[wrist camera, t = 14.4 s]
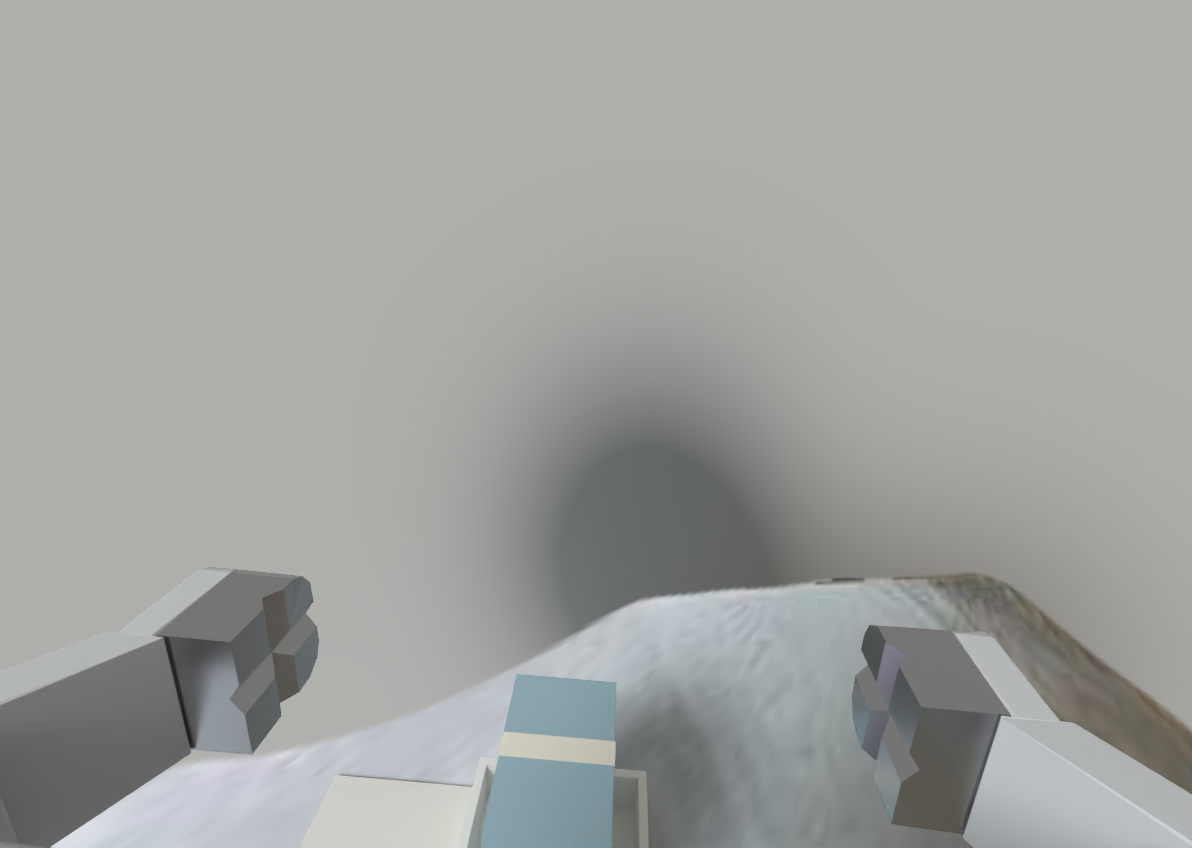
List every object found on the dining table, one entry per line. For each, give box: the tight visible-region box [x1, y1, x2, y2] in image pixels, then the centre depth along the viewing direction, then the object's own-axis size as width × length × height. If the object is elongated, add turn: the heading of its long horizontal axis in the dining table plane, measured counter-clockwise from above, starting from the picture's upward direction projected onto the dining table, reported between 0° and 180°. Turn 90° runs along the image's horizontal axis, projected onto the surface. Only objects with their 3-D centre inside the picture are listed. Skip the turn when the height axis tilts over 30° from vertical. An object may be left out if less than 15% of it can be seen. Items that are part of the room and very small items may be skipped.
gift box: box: [481, 674, 616, 848], centre depth 30 cm, size 5×8×12 cm, turn 177°
